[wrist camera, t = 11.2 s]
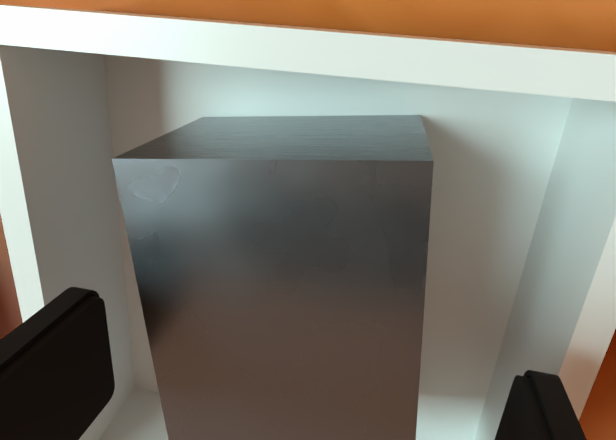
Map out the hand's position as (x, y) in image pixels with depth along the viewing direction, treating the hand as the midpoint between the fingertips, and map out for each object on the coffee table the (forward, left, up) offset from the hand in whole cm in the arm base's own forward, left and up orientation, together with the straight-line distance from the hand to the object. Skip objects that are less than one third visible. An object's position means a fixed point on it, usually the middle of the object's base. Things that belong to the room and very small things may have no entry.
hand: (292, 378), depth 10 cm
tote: (+1, 0, -7) cm, 6 cm away
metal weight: (0, 0, -6) cm, 5 cm away
